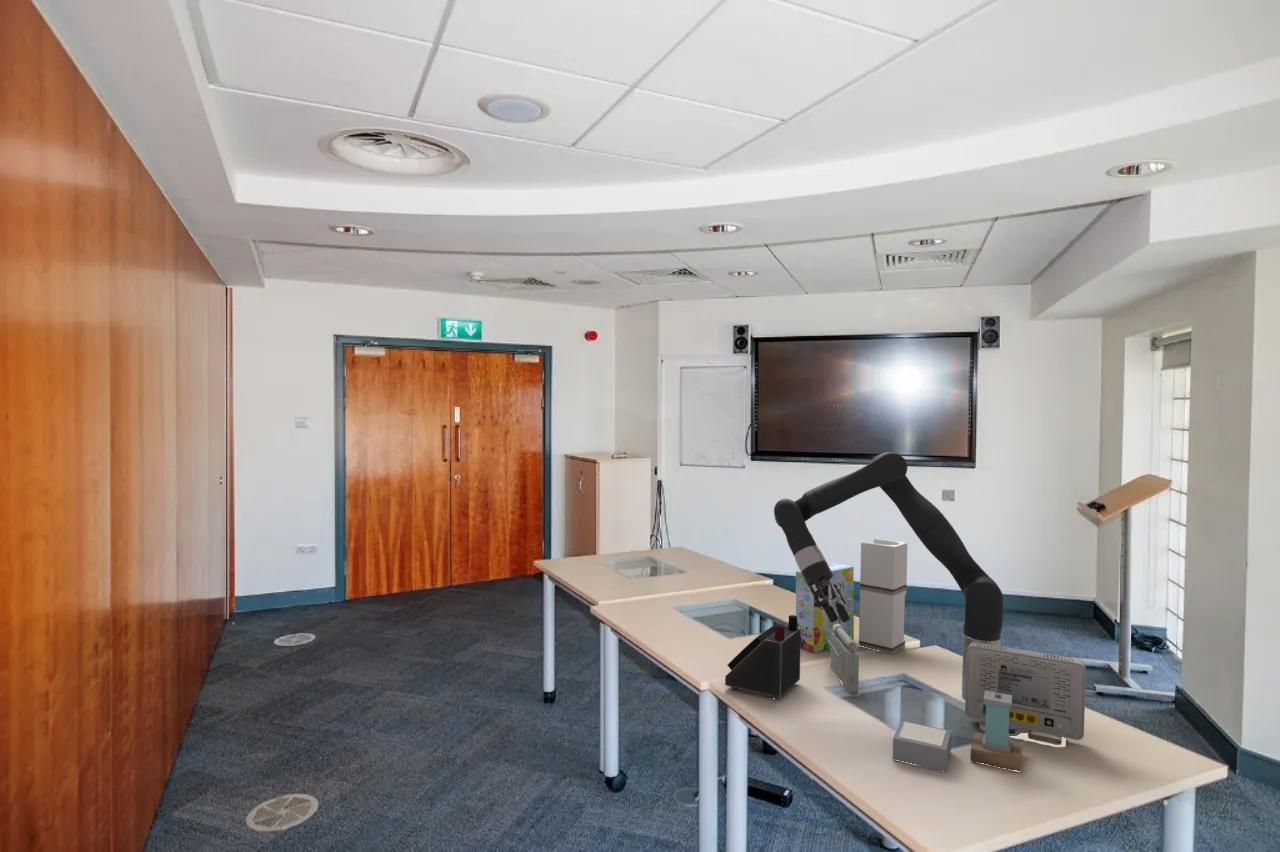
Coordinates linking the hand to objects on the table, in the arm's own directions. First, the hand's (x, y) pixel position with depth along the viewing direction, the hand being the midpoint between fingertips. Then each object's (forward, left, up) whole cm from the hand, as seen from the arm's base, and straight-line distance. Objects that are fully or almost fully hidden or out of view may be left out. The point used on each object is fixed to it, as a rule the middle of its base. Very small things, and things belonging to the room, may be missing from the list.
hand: (841, 621), depth 192 cm
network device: (-35, +26, -23) cm, 49 cm away
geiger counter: (-12, -19, -23) cm, 33 cm away
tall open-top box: (-41, -40, -23) cm, 62 cm away
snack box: (-24, -48, -23) cm, 58 cm away
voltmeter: (+14, -17, -23) cm, 32 cm away
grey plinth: (-3, +30, -23) cm, 37 cm away
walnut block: (-19, +35, -23) cm, 46 cm away
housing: (-19, +35, -20) cm, 44 cm away
